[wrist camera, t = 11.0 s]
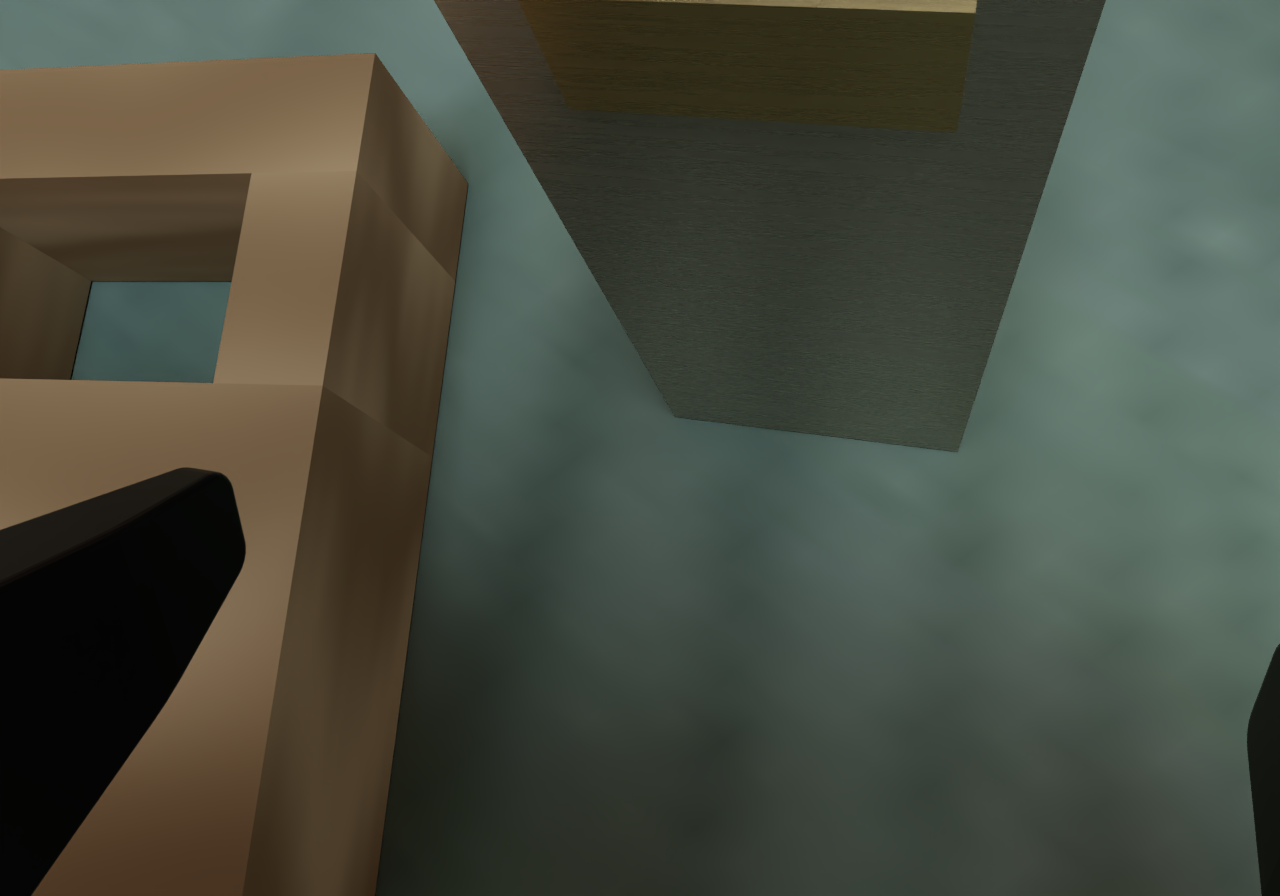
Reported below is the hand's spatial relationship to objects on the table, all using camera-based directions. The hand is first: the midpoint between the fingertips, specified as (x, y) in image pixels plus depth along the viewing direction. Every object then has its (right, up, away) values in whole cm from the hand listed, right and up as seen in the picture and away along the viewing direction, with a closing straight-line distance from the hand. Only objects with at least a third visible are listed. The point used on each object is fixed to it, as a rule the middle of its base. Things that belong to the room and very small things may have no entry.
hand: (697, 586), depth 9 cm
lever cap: (+2, +2, +8) cm, 9 cm away
